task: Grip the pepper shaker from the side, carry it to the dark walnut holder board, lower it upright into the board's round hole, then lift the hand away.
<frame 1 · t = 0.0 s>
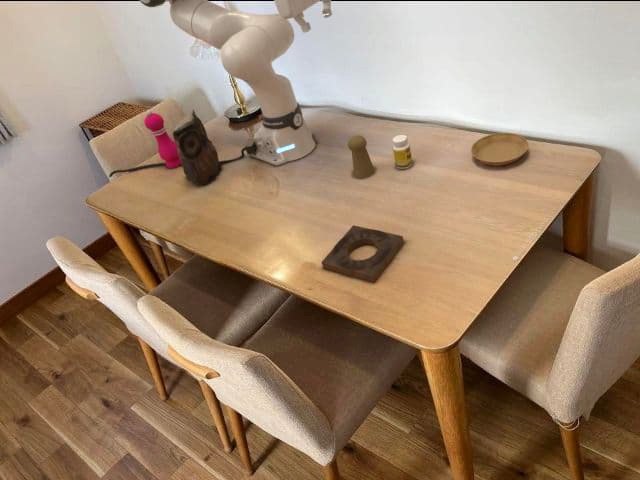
hand: (318, 23, 125), 39 cm above the table, tool pointing down, fingers open, 8 cm apart
plant saucer: (499, 155, 135), on the table
pepper shaker: (364, 172, 144), on the table
supplement bottle: (404, 165, 142), on the table
owl: (205, 175, 164), on the table
pepper mill: (176, 164, 175), on the table
holder: (363, 255, 117), on the table
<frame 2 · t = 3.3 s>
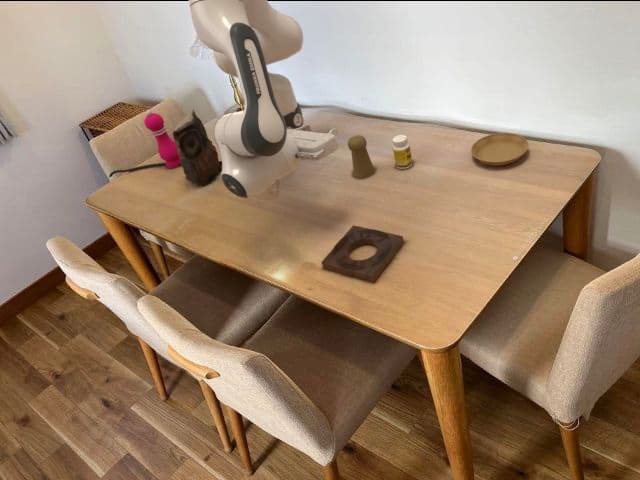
hand: (321, 129, 126), 19 cm above the table, tool horizontal, fingers open, 8 cm apart
nothing on the table moved.
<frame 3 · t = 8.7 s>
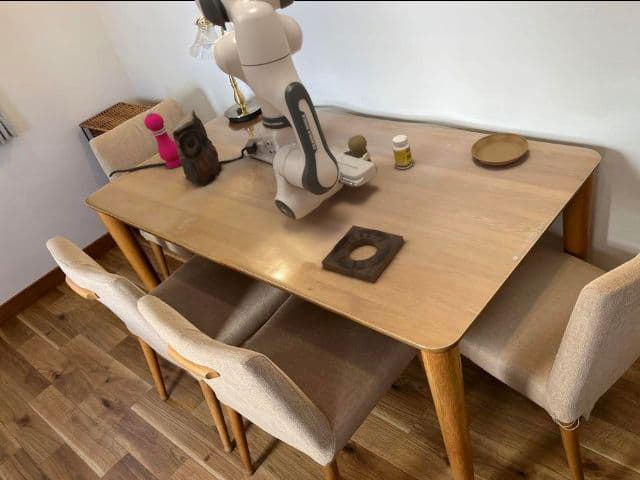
hand: (361, 152, 140), 6 cm above the table, tool horizontal, fingers closed on pepper shaker, 4 cm apart
pepper shaker: (364, 172, 144), on the table, touching gripper
everything else where it was.
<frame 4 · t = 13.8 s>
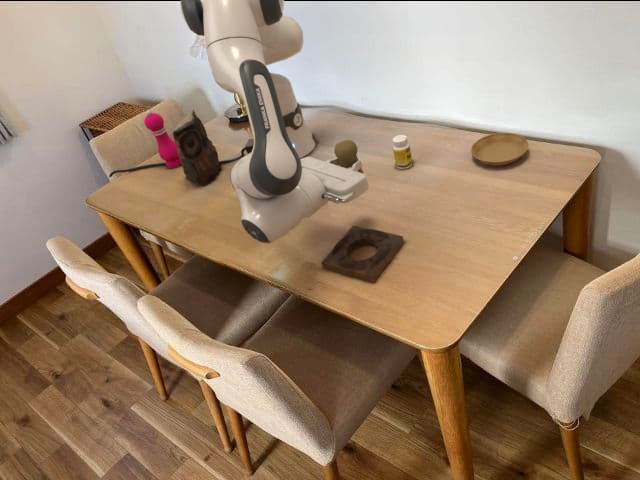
hand: (351, 160, 116), 17 cm above the table, tool horizontal, fingers closed on pepper shaker, 4 cm apart
pepper shaker: (354, 185, 119), point 11 cm above the table, touching gripper
everything else where it was.
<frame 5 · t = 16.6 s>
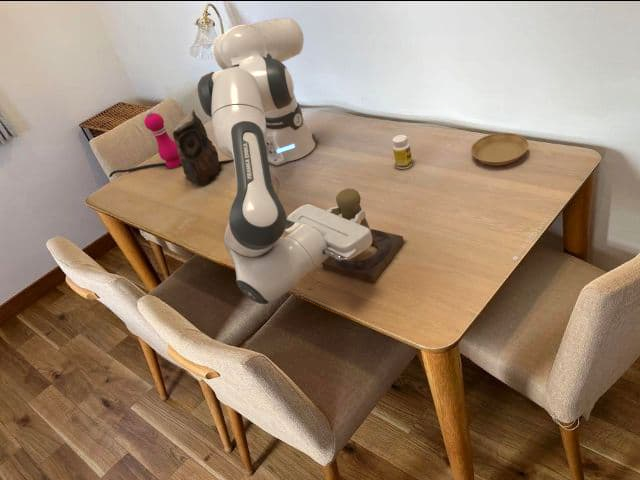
hand: (354, 209, 109), 13 cm above the table, tool horizontal, fingers closed on pepper shaker, 4 cm apart
pepper shaker: (357, 233, 112), point 7 cm above the table, touching gripper
everything else where it was.
when the fingers open (6 cm above the table, at t = 18.9 s): pepper shaker stays where it is, resting in holder.
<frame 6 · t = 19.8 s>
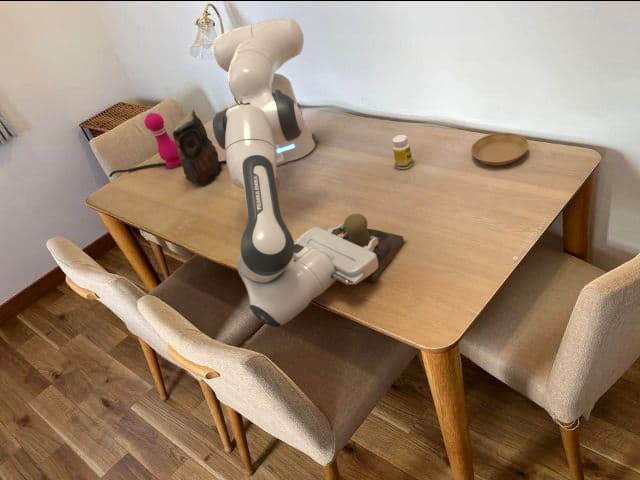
hand: (360, 232, 113), 6 cm above the table, tool horizontal, fingers open, 8 cm apart
pepper shaker: (364, 255, 117), resting in holder
everything else where it was.
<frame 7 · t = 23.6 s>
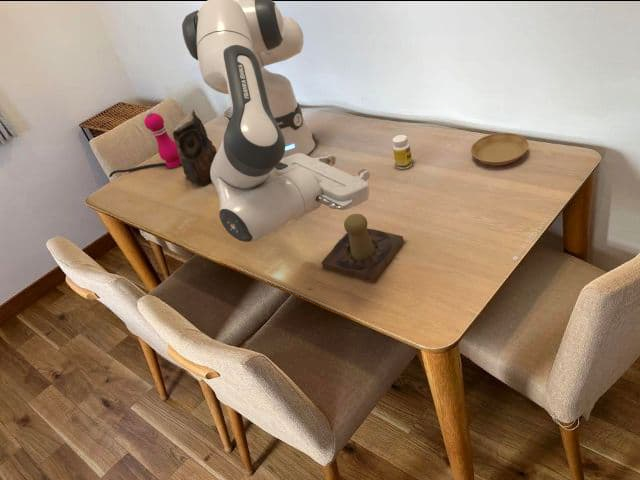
hand: (349, 165, 104), 23 cm above the table, tool horizontal, fingers open, 8 cm apart
nothing on the table moved.
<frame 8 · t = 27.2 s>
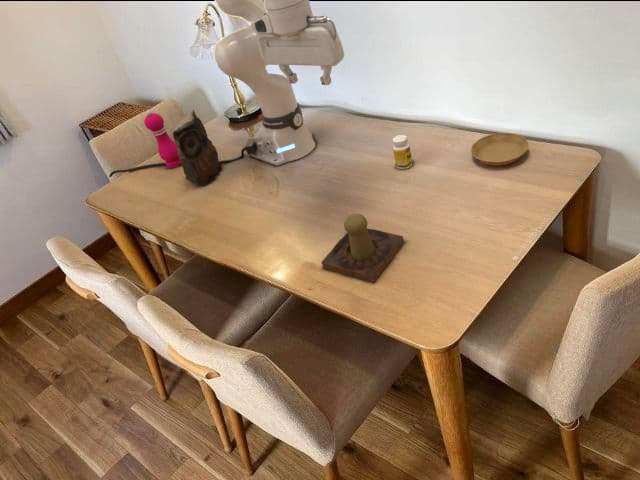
hand: (310, 83, 110), 34 cm above the table, tool pointing down, fingers open, 8 cm apart
nothing on the table moved.
at the end: pepper shaker 0.1 cm off-centre in the holder, point 0.0 cm above the holder's base; pepper shaker tilted 0°; the gripper is holding nothing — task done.
